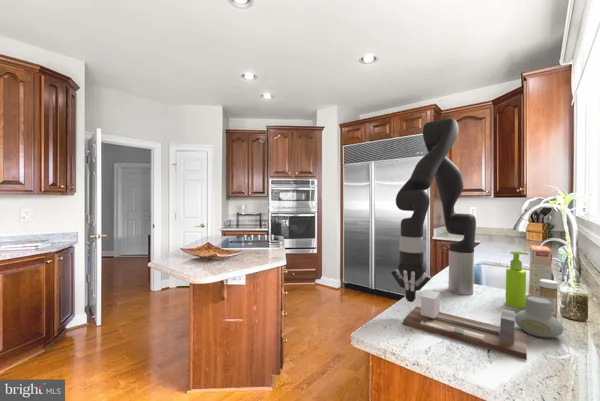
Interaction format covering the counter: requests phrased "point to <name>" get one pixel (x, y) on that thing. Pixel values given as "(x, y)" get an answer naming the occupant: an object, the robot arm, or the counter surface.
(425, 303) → the block
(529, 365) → the counter surface
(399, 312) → the counter surface
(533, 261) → the cracker box
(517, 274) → the soap dispenser
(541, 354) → the counter surface
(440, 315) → the base
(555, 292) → the sprinkles bottle
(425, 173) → the robot arm
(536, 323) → the air freshener
